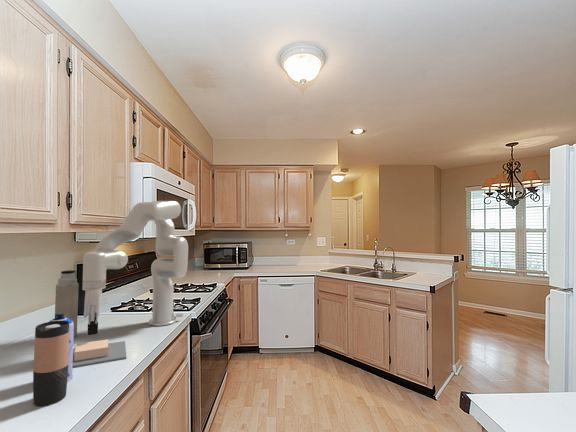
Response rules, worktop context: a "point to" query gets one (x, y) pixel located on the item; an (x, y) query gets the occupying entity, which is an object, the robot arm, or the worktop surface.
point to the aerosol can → (71, 334)
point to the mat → (114, 353)
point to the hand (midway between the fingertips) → (92, 333)
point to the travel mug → (50, 362)
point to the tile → (91, 350)
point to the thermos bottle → (67, 297)
